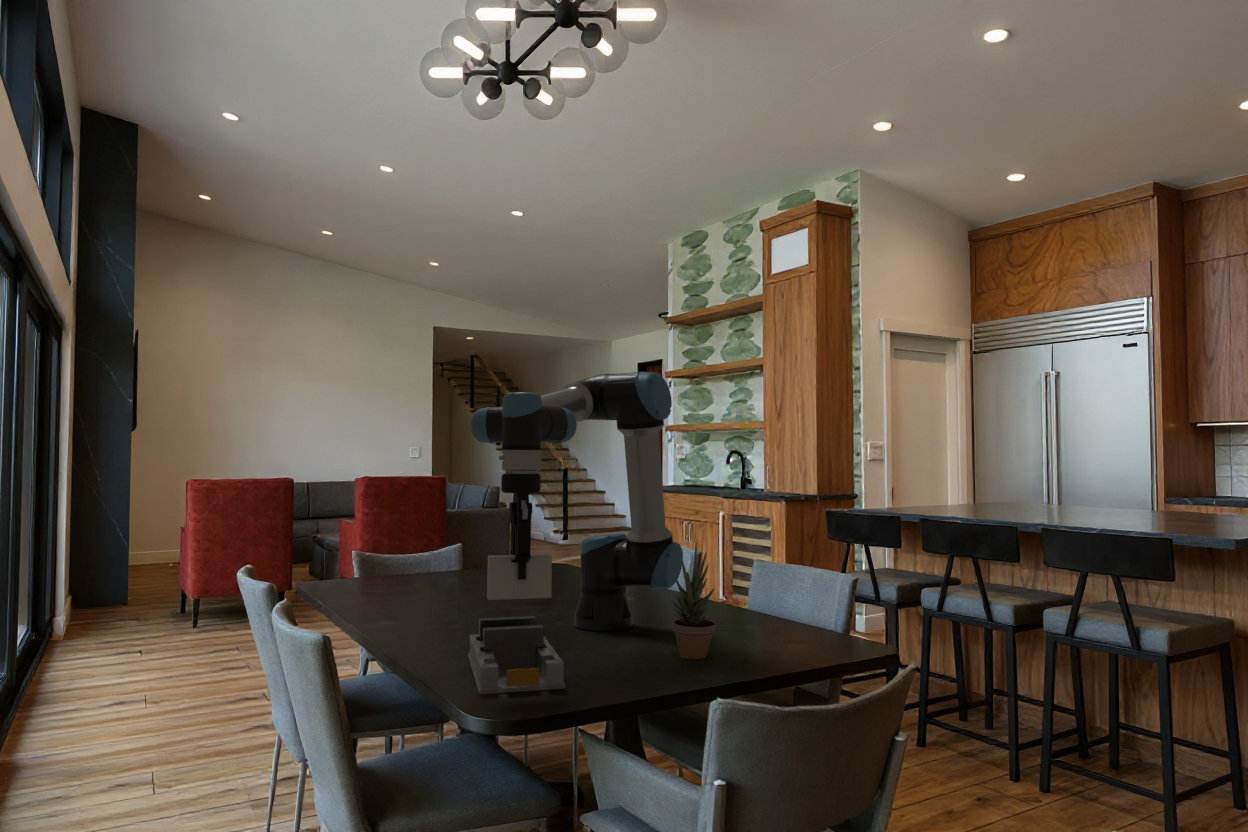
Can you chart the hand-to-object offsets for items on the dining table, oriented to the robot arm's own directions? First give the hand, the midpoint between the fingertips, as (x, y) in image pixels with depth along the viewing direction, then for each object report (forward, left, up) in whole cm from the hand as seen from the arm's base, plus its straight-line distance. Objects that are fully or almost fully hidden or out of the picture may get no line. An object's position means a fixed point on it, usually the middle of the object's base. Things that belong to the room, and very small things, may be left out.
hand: (519, 594), depth 159 cm
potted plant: (-40, -14, -17) cm, 46 cm away
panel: (0, 0, -1) cm, 1 cm away
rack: (0, -10, -17) cm, 20 cm away
